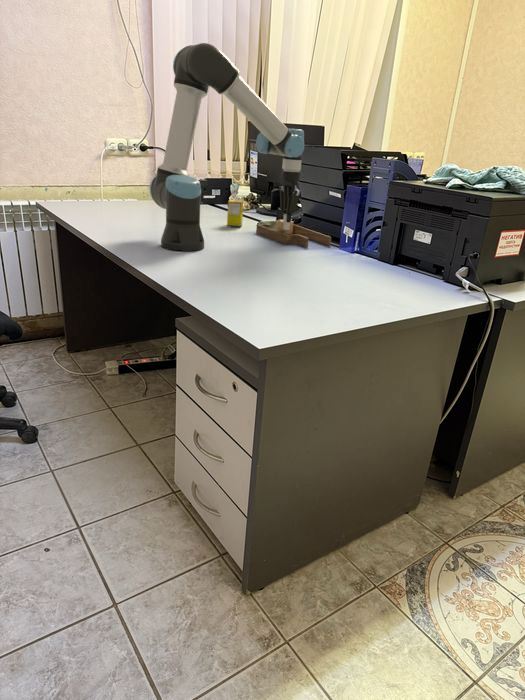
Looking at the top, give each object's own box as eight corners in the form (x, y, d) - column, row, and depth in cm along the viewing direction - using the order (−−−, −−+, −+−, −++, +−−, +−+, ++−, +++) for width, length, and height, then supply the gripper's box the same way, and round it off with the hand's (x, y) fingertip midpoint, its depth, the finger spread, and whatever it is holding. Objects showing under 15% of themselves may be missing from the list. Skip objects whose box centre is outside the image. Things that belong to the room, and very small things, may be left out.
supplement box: (242, 225, 223) (243, 200, 219) (240, 228, 218) (241, 202, 213) (229, 224, 224) (230, 199, 219) (226, 226, 218) (228, 200, 214)
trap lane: (294, 248, 189) (295, 238, 188) (248, 229, 215) (248, 221, 214) (330, 245, 198) (331, 236, 196) (281, 228, 224) (282, 220, 222)
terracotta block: (281, 233, 213) (282, 221, 211) (277, 231, 217) (278, 219, 215) (292, 234, 214) (293, 222, 212) (288, 231, 218) (289, 219, 216)
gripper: (308, 172, 199) (302, 232, 208) (290, 169, 209) (284, 226, 218) (292, 172, 195) (287, 233, 205) (274, 168, 205) (270, 227, 214)
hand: (286, 229), depth 211 cm, fingers closed
